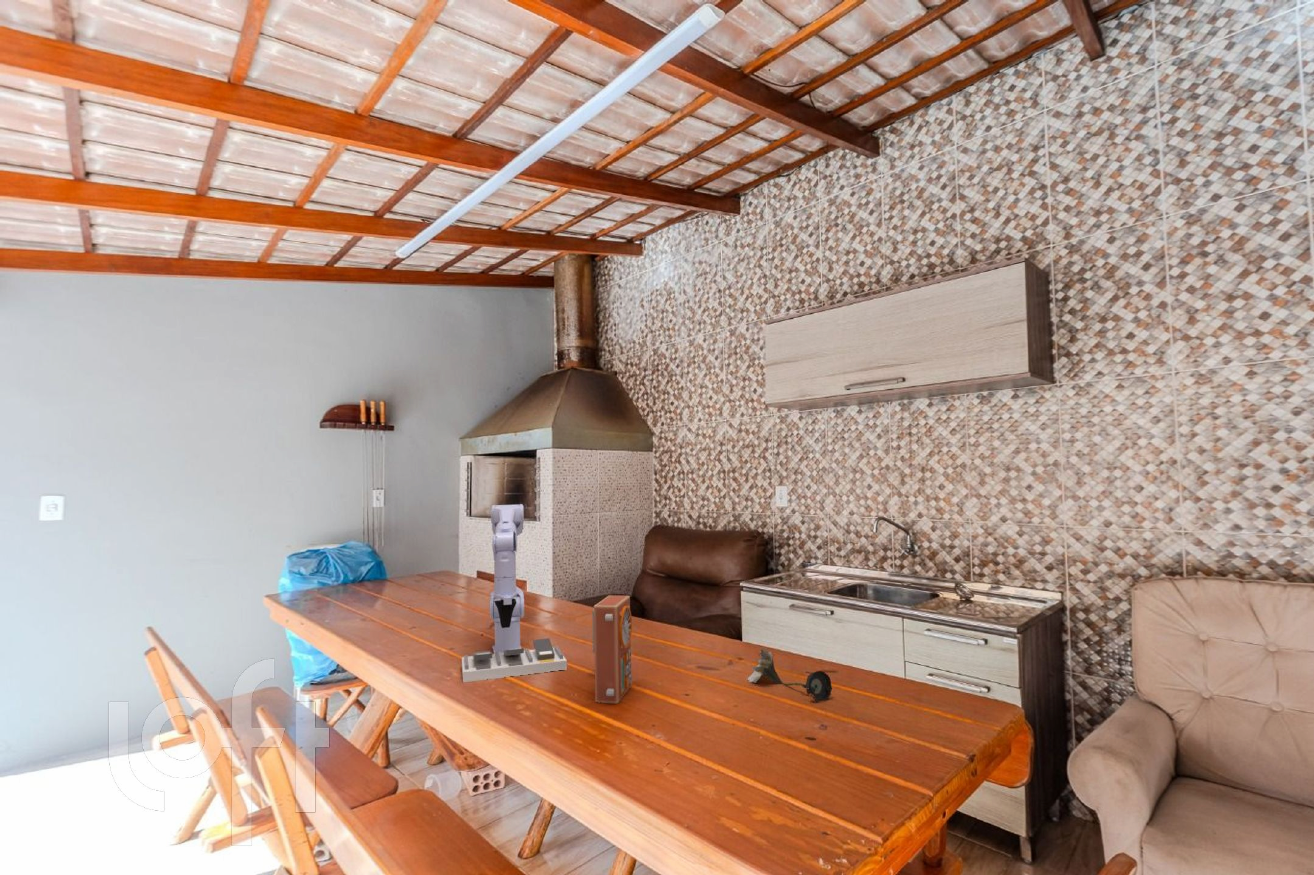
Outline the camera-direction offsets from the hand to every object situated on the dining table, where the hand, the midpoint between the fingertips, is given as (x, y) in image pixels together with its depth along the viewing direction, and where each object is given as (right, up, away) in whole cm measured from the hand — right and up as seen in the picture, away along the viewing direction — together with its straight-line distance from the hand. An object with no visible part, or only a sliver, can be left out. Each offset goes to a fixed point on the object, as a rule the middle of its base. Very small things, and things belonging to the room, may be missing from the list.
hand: (505, 627), depth 173 cm
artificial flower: (+71, -8, -24) cm, 75 cm away
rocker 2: (+10, -6, -1) cm, 12 cm away
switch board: (+3, -10, -4) cm, 11 cm away
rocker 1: (-5, -6, -6) cm, 9 cm away
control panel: (+31, -8, -25) cm, 41 cm away
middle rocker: (+3, -6, -3) cm, 7 cm away
